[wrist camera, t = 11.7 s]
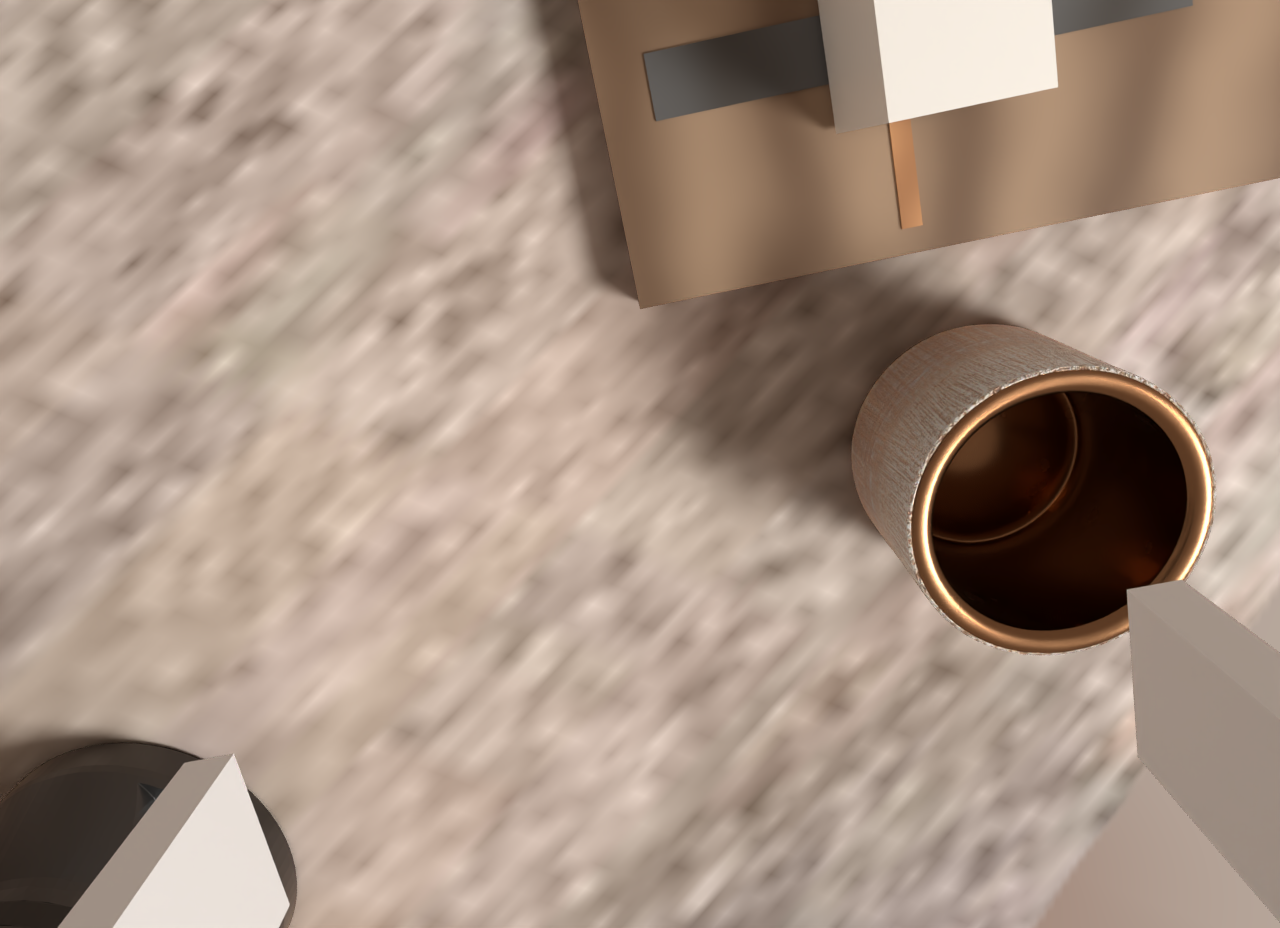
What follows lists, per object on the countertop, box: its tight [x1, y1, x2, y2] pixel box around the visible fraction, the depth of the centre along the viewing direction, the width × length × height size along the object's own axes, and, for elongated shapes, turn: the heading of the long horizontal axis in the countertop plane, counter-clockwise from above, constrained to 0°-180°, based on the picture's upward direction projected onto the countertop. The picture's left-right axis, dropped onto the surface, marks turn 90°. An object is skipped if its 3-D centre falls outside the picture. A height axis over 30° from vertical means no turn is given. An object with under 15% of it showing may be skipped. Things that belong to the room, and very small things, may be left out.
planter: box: [851, 324, 1216, 655], centre depth 38 cm, size 11×11×10 cm
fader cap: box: [818, 0, 1058, 134], centre depth 32 cm, size 5×6×8 cm
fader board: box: [578, 0, 1280, 309], centre depth 37 cm, size 26×16×2 cm, turn 102°
